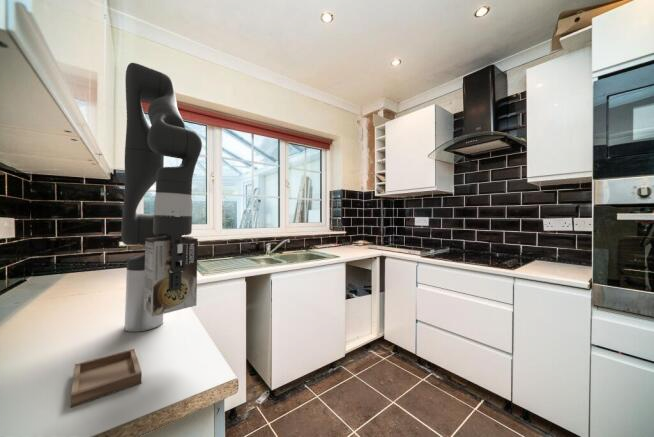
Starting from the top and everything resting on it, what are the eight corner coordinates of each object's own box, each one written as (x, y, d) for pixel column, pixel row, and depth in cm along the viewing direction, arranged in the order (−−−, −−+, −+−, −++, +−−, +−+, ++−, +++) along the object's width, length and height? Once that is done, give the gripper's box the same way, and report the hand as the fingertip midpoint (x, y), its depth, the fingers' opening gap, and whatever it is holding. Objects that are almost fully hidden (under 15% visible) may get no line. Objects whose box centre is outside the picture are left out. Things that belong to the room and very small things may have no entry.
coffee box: (185, 299, 63) (188, 235, 62) (197, 306, 59) (199, 238, 58) (142, 309, 56) (144, 237, 55) (151, 317, 51) (154, 240, 51)
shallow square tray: (74, 374, 51) (75, 364, 51) (134, 357, 57) (134, 348, 57) (70, 407, 42) (71, 395, 42) (141, 383, 48) (141, 372, 48)
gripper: (148, 212, 59) (146, 281, 60) (160, 214, 49) (157, 297, 49) (183, 214, 65) (181, 277, 65) (201, 215, 54) (198, 290, 54)
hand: (171, 285), depth 57 cm, fingers closed on coffee box, 7 cm apart
